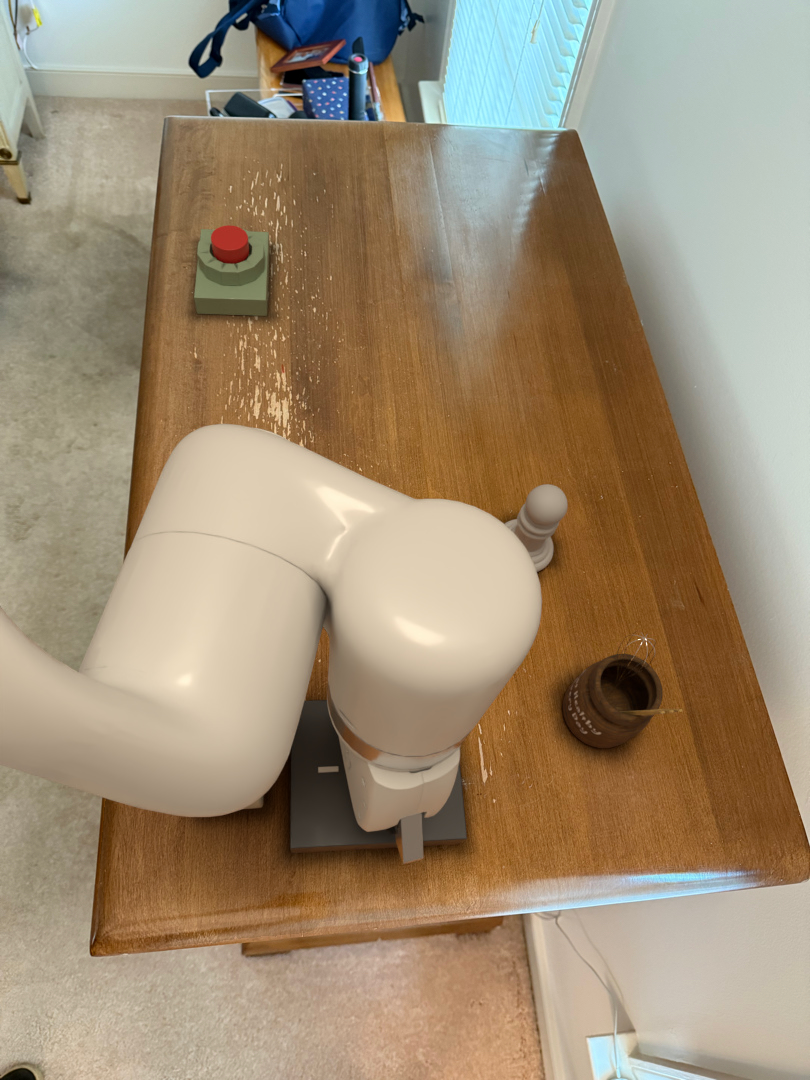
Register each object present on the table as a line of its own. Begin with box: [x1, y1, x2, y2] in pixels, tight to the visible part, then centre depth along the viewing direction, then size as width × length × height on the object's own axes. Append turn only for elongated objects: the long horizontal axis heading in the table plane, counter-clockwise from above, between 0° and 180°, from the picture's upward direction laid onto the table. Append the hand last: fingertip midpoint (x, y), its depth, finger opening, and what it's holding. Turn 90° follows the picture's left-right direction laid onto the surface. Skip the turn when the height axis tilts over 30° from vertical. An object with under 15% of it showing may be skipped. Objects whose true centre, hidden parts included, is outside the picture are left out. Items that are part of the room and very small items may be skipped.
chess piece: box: [504, 483, 569, 573], centre depth 61 cm, size 5×5×9 cm
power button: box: [211, 224, 249, 264], centre depth 73 cm, size 4×4×2 cm
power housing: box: [193, 227, 271, 317], centre depth 75 cm, size 7×10×4 cm
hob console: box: [289, 699, 468, 854], centre depth 53 cm, size 12×10×3 cm
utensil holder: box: [562, 630, 684, 749], centre depth 53 cm, size 6×6×12 cm
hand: (377, 765), depth 51 cm, fingers closed on hob knob, 4 cm apart
